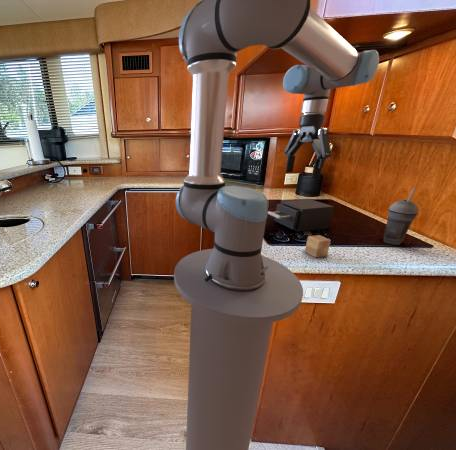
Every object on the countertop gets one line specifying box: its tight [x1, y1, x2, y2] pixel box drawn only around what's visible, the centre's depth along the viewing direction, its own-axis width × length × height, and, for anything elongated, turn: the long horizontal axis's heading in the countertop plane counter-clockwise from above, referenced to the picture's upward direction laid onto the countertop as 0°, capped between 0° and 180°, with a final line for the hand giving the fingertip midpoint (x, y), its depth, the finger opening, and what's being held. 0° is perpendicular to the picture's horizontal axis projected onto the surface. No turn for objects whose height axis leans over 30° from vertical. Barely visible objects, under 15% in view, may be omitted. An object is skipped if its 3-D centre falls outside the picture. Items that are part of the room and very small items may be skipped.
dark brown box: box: [280, 198, 335, 233], centre depth 102 cm, size 15×13×10 cm
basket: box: [267, 203, 301, 231], centre depth 101 cm, size 19×11×8 cm, turn 102°
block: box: [304, 234, 332, 258], centre depth 78 cm, size 4×4×6 cm
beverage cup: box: [382, 187, 419, 246], centre depth 82 cm, size 7×7×20 cm
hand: (301, 174), depth 91 cm, fingers open, 13 cm apart
